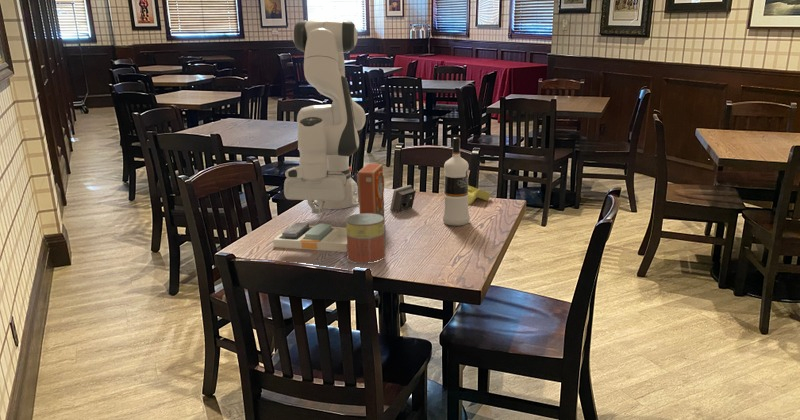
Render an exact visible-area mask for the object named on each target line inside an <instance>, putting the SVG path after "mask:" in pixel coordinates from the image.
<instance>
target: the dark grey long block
mask: <svg viewBox="0 0 800 420" xmlns="http://www.w3.org/2000/svg"><path fill="white" fill-rule="evenodd" d="M309 225H310V223H309V222H295V223H294V224H292V225H290V226H289V227H290V228H289V227H288V228H287V229H285V230H286V231H285V230H284V231H282V232H283V233H282V232H281V233H282V237H283V239H296V240H297V239H299V238H300V237H301V236H302V235H304V234H305V233H306V232H307V231H309Z"/></svg>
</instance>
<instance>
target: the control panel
mask: <svg viewBox="0 0 800 420" xmlns="http://www.w3.org/2000/svg"><path fill="white" fill-rule="evenodd" d="M384 176H385V175H384V171H383V164H382V163H367V164H366V165H364V167H362V168H361V169H359V171H357V174H356V183H357V192H358V203H359V208H358V209H359V214H361V213H374V214H379V215H382V216H383V217H384V222H385V221H386V220H385V218H386V217H385V200H384V199H385V198H384V196H385V195H384V192H385V177H384Z"/></svg>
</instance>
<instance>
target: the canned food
mask: <svg viewBox="0 0 800 420" xmlns="http://www.w3.org/2000/svg"><path fill="white" fill-rule="evenodd" d="M384 217H385V216H384ZM384 217H383V216H382V215H379V214H374V213H361V214H360V213H356V214H351V215H349V216H347V217H345V225H346V227H345V228H346V229H347V248H348V251H347V252H348V253H347V260H348V261H350V262H352V263H354V262H356V263H355V264H360V263H368V262H374V261H377V260H380V259H382V258H384V257H385V258H386V250H385V249H386V248H385V243H386V241H385V221H384ZM385 258H384V259H385ZM368 264H369V263H368Z"/></svg>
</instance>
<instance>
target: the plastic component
mask: <svg viewBox="0 0 800 420" xmlns="http://www.w3.org/2000/svg"><path fill="white" fill-rule="evenodd" d="M468 195H469V197H468V206H469V205H471V204H473V203H474V202H475V201H476V199H477V198H478V199H481V200H483V201H486V202H488V201H489V199H490V197H491V195H492V193H490V192H488V191H485V190H482V189H479V188H478V187H474V186H471V185H469V184H468Z"/></svg>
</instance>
